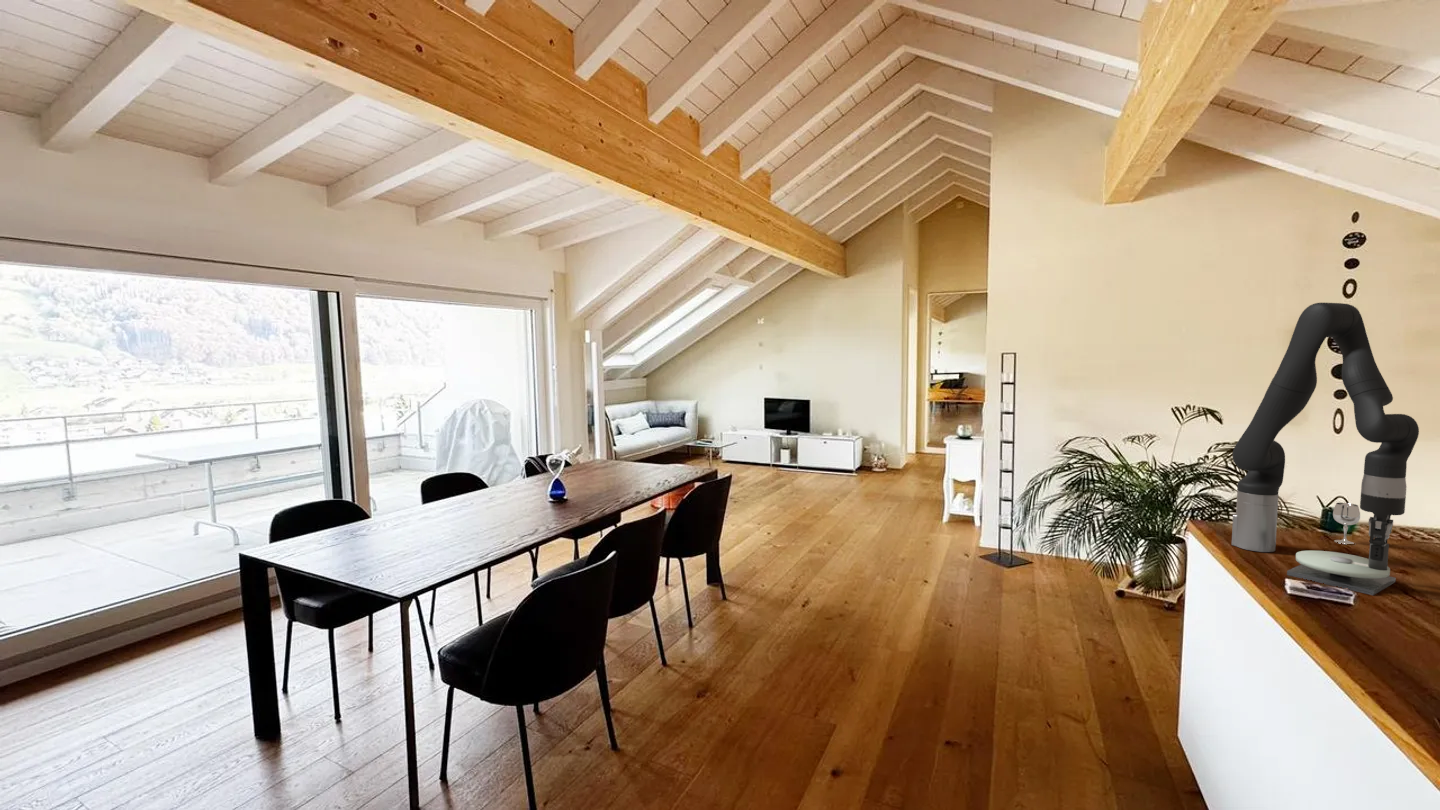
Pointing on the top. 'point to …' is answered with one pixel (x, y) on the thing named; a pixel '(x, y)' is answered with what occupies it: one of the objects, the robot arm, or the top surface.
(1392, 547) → the top surface
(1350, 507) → the wineglass
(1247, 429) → the robot arm
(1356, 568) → the handwheel
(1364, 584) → the wheel stand
